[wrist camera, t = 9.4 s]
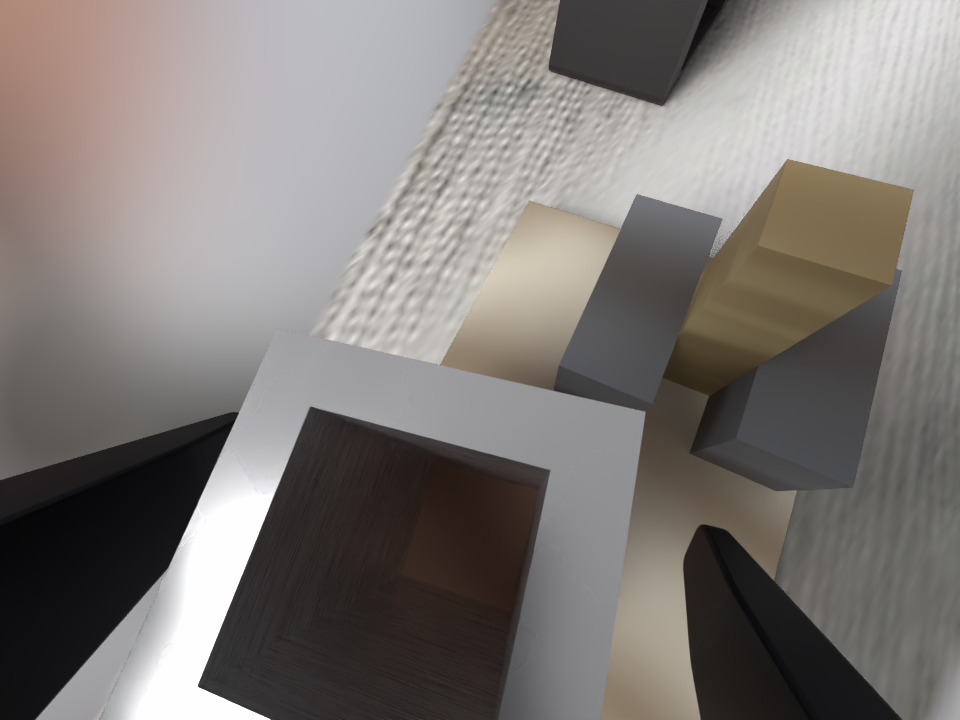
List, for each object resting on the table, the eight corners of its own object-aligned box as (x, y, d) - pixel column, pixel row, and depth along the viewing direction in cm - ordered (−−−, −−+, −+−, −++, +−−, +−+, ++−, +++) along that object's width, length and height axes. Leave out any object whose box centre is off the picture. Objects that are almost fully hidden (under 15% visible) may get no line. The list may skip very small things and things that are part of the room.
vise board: (677, 818, 11) (1082, 1678, 3) (334, 592, 14) (62, 714, 6) (817, 319, 15) (1146, 106, 7) (529, 224, 18) (528, -4, 10)
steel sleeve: (539, 665, 11) (558, 1004, 4) (359, 600, 12) (81, 757, 5) (577, 466, 13) (646, 412, 5) (416, 424, 14) (277, 328, 6)
